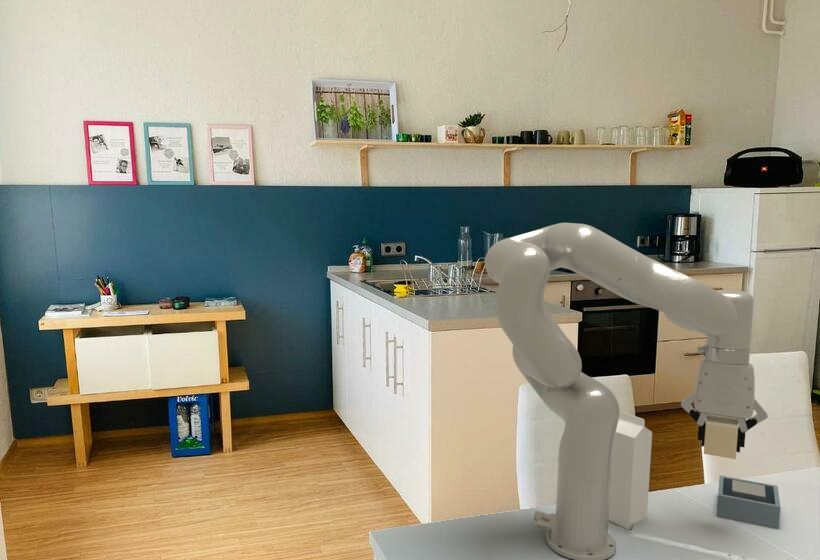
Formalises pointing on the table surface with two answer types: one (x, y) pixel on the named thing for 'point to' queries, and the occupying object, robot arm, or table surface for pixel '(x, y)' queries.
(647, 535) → the table surface
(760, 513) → the tote
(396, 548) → the table surface
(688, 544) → the table surface
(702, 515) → the table surface
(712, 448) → the beige cube
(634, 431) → the milk
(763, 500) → the block
